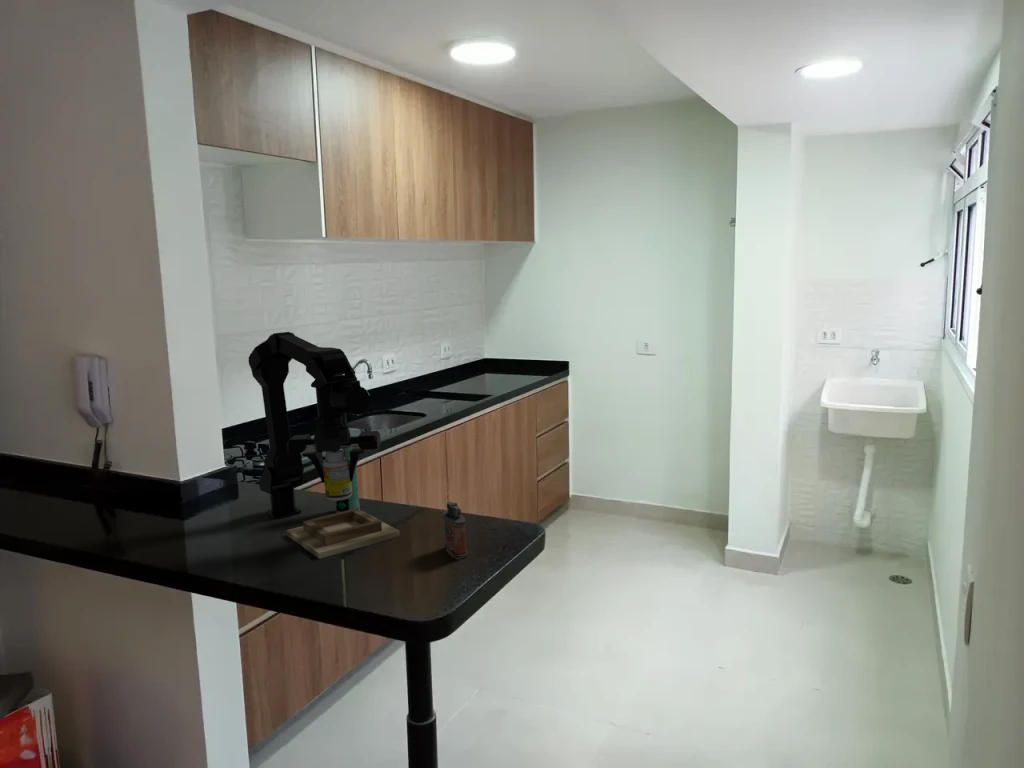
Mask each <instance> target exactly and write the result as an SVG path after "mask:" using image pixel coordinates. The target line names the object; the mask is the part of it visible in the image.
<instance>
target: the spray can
mask: <svg viewBox="0 0 1024 768" xmlns="http://www.w3.org/2000/svg"><path fill="white" fill-rule="evenodd" d="M351 436H352V435H350V437H351ZM340 449H343V450H345V458H348V459H349V463H350V454H349V452H350V451H351V449H352V447H351V445H349V446H340ZM357 468H358V467H356V470H355V474H354V478H353V481H351V486H352V495H351V497H349V498H347V499H344V500H339V501H335V510H336V513H339V512H343V511H347V510H351V509H358V510H360V511H361V509H360V508H361V506H360V505H361V504H360V494H359V493H360V491H359V482H358V470H357Z"/></svg>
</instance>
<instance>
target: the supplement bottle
mask: <svg viewBox="0 0 1024 768" xmlns="http://www.w3.org/2000/svg"><path fill="white" fill-rule="evenodd" d="M323 473H324V483H323V484H324V493H325V497H326V499H327V500H329V501H335V502H336V501H339V500H344V499H347V498H349V497H351V495H352V486H351V481H350V463H349V459H348V458H345V450H343V449H340V450H339V451H336V452H332V451H326V452H325V460H323Z"/></svg>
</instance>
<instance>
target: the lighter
mask: <svg viewBox="0 0 1024 768" xmlns="http://www.w3.org/2000/svg"><path fill="white" fill-rule="evenodd" d="M446 509H447V510H445V511H443V512H442V518H443V523H444V536H445V537H444V538H445V543H444V549H445V548H446V550H447V552H448V553H450V554H451V555H453V556H454V557H456V558H461V557H465V556H467V555H468V550H467V541H466V540H467V539H466V526H465V525H466V519H465V517H464V515H463V514H462V509H461V508H460V507H459V506H458V503H457V502H452V501H448V502H446ZM446 550H445V551H446ZM447 552H446V553H447ZM448 553H447V554H448Z"/></svg>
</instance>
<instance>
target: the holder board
mask: <svg viewBox="0 0 1024 768" xmlns="http://www.w3.org/2000/svg"><path fill="white" fill-rule="evenodd" d="M286 535H287V537H289V538H290V539H292V541H294V542H296V543H297V544H298V545H300V546H301V547H302V548H304V549H305V550H306V551H308V552H309V553H311V554H312V555H313V556H315V557H316V558H318V559H319V560H320V559H324V558H327V557H330V556H331V557H332V556H334V555H338V554H342V553H346V552H349V551H353V550H356V549H359V548H363V547H366V546H371V545H374V544H378V543H380V542H384V541H387V540H392V539H395V538H399V537H401V532H400V530H399V529H397V528H395V527H393V526H391V525H390V524H387V523H385V522H384V521H382V520H380V519H379V518H376V517H374V516H373V515H370V514H369V513H367V512H365V511H362V510H361V509H360V510H358V509H351V510H347V511H343V512H339V513H337V512H336V513H332V514H327V515H324V516H323V515H322V516H320V517H316V518H315V517H314V518H311V519H308V520H303V521H302V526H298V527H294V528H290V529H287V530H286Z"/></svg>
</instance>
